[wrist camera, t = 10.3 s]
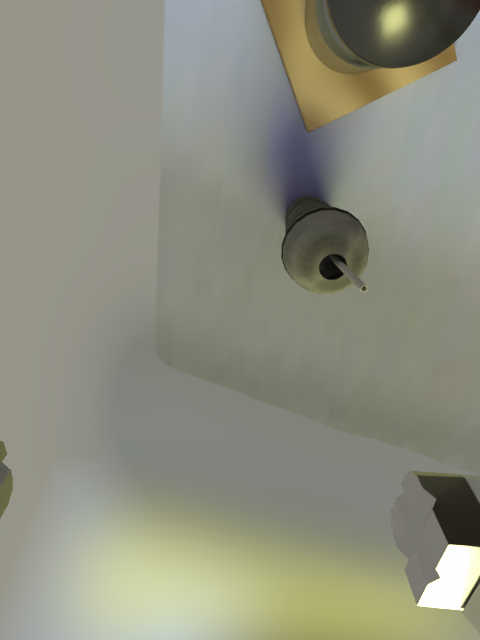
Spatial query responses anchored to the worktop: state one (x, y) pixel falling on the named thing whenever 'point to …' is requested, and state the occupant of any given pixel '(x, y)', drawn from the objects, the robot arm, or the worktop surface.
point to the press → (384, 31)
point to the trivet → (325, 84)
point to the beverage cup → (324, 247)
